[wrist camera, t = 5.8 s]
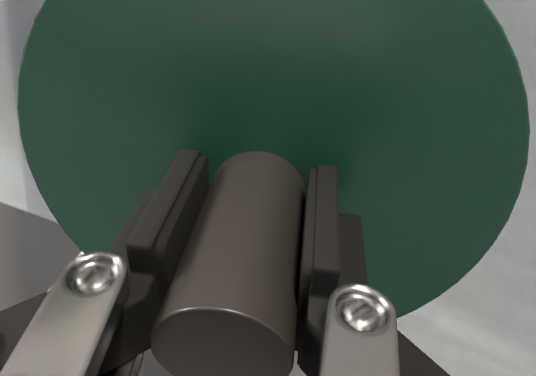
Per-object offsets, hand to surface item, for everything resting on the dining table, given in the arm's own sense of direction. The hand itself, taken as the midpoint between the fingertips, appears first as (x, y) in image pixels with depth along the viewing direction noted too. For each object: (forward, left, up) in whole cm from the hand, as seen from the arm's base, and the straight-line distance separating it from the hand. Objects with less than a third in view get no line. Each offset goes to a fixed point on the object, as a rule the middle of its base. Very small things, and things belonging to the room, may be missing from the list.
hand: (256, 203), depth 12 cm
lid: (0, 0, -1) cm, 1 cm away
